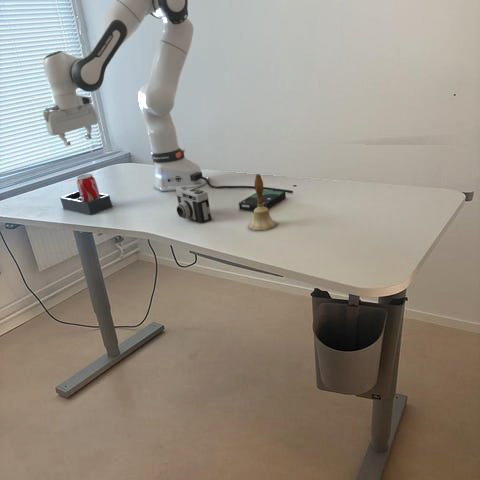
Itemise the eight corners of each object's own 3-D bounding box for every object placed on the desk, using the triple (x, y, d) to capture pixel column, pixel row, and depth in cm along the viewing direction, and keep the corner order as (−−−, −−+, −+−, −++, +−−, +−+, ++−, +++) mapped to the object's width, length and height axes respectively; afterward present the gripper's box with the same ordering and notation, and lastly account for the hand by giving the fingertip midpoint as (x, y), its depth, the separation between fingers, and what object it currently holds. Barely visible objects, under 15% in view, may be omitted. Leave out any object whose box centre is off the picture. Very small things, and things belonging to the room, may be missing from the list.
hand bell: (257, 220, 159) (251, 170, 151) (280, 222, 155) (276, 171, 147) (244, 229, 153) (238, 178, 145) (268, 231, 149) (263, 179, 141)
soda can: (97, 209, 188) (88, 178, 182) (81, 210, 190) (71, 179, 183) (105, 203, 194) (97, 173, 188) (89, 204, 195) (80, 174, 189)
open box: (112, 206, 192) (109, 194, 190) (90, 215, 186) (87, 203, 184) (84, 200, 204) (81, 189, 201) (63, 208, 198) (59, 197, 195)
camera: (170, 218, 171) (165, 190, 166) (190, 211, 175) (185, 183, 170) (192, 227, 161) (186, 197, 156) (212, 219, 165) (208, 190, 160)
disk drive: (264, 213, 164) (286, 198, 174) (263, 205, 162) (285, 190, 172) (239, 210, 169) (261, 196, 179) (238, 202, 168) (260, 188, 178)
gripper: (46, 108, 170) (59, 149, 177) (94, 97, 182) (105, 135, 189) (37, 109, 174) (50, 149, 181) (85, 97, 186) (95, 135, 193)
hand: (78, 142), depth 185 cm, fingers open, 8 cm apart
